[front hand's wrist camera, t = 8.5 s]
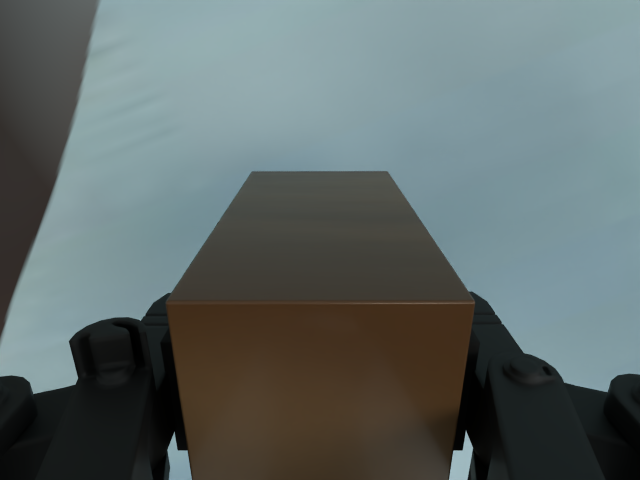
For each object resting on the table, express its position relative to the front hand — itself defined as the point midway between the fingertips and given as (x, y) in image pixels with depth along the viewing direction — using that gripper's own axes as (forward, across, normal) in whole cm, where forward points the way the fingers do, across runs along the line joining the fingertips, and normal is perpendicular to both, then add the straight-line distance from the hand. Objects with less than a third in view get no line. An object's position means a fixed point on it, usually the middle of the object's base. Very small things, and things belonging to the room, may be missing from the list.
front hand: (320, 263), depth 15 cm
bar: (+1, 0, -10) cm, 10 cm away
